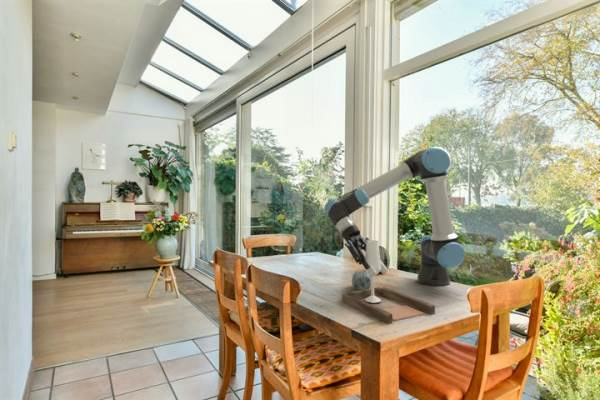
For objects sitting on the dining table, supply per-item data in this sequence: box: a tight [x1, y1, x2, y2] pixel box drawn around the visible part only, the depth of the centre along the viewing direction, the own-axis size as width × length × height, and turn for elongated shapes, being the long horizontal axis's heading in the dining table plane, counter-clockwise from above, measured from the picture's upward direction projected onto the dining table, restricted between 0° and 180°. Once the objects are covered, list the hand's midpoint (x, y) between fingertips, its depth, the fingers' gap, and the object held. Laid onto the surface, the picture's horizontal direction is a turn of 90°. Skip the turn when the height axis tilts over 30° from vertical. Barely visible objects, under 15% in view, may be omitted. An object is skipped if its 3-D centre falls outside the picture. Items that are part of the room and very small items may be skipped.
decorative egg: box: [378, 245, 391, 274], centre depth 194 cm, size 12×12×15 cm
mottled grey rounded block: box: [351, 270, 371, 291], centre depth 162 cm, size 14×10×10 cm
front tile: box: [383, 304, 426, 322], centre depth 129 cm, size 14×10×1 cm
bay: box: [341, 286, 436, 325], centre depth 137 cm, size 22×29×3 cm
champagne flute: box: [363, 239, 382, 304], centre depth 143 cm, size 7×7×24 cm
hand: (379, 273), depth 141 cm, fingers closed on champagne flute, 7 cm apart
